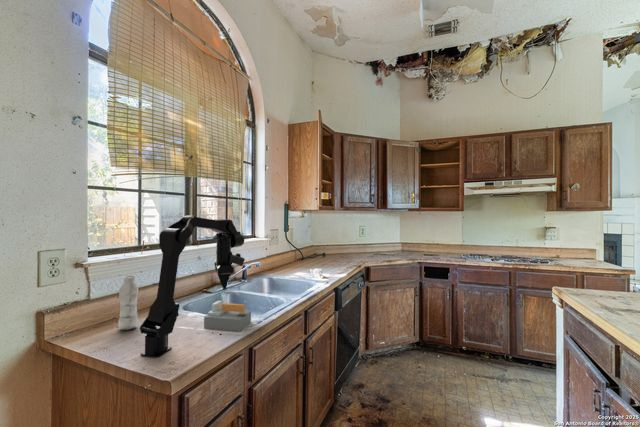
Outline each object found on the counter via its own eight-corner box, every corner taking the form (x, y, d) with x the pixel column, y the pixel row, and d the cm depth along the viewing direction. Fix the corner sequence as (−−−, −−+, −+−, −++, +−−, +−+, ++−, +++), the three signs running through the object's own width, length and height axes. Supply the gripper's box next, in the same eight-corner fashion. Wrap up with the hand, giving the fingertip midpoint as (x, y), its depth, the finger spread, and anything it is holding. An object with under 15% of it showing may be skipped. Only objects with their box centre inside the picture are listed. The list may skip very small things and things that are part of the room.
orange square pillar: (243, 315, 116) (243, 305, 116) (221, 313, 117) (221, 304, 117) (245, 313, 117) (245, 304, 117) (223, 311, 119) (224, 302, 119)
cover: (219, 316, 115) (219, 305, 115) (207, 315, 116) (208, 304, 116) (228, 310, 122) (228, 300, 122) (217, 309, 122) (217, 299, 122)
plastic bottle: (122, 333, 108) (123, 279, 108) (115, 329, 112) (116, 276, 112) (141, 328, 113) (142, 276, 113) (134, 324, 117) (134, 274, 117)
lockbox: (240, 331, 111) (240, 319, 111) (203, 328, 114) (204, 316, 114) (251, 322, 121) (251, 311, 121) (217, 319, 124) (217, 308, 124)
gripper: (247, 251, 118) (246, 290, 118) (240, 245, 135) (239, 279, 135) (217, 252, 113) (217, 292, 113) (214, 246, 130) (214, 281, 131)
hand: (223, 286), depth 123 cm, fingers open, 9 cm apart
